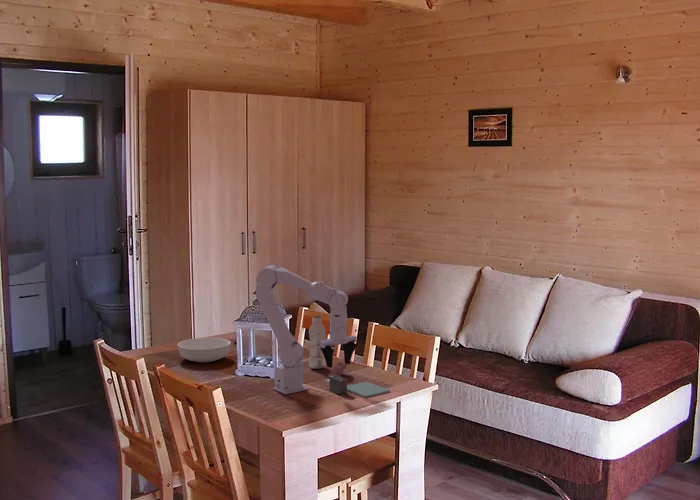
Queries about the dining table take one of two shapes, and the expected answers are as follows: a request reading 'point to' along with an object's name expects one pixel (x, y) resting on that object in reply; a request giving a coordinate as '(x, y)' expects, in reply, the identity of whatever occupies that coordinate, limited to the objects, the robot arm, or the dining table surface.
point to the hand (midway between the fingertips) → (338, 365)
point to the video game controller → (338, 369)
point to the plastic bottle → (316, 343)
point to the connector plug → (337, 384)
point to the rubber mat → (366, 389)
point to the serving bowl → (204, 349)
